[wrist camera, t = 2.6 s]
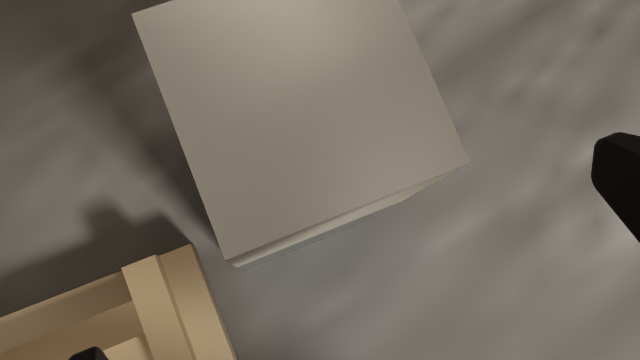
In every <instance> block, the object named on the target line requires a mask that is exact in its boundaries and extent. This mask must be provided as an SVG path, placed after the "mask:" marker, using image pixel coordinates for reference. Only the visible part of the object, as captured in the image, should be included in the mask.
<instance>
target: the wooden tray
mask: <svg viewBox="0 0 640 360" xmlns="http://www.w3.org/2000/svg"><path fill="white" fill-rule="evenodd" d="M121 269H122V271H119V272H116V273H114V274H111V275H109V276H106V277H104V278H101V279H98V280H96V281H93V282H91V283H88V284H86V285H83V286H81V287H78V288H75V289H73V290H70V291H68V292H65V293H63V294H60V295H57V296H55V297H52V298H50V299H47V300H45V301H42V302H40V303H37V304H34V305H32V306H29V307H27V308H24V309H22V310H19V311H16V312H14V313H11V314H9V315H6V316H4V317H1V318H0V360H68V359H69V358H70V357H71V356H72V355H74V354H76V353H78V352H81V351H83V350H85V349H88V348H90V347H93V346H97V347H99V348H100V349H101V350H102V351H103V352H104V354H105V355H106V357H107V358H108V359H109V360H237V357H236V355H235V352H234V349H233V347H232V344H231V341H230V339H229V336H228V333H227V331H226V328H225V325H224V323H223V320H222V317H221V315H220V312H219V309H218V307H217V304H216V301H215V299H214V296H213V293H212V291H211V288H210V285H209V283H208V280H207V277H206V275H205V272H204V269H203V267H202V264H201V261H200V259H199V256H198V253H197V251H196V248H195V246H194V245H192V244H188V245H186V246H183V247H180V248H178V249H175V250H173V251H170V252H168V253H165V254H163V255H160V256H158V255H153V256H150V257H147V258H145V259H142V260H140V261H137V262H135V263H132V264H129V265H127V266H124V267H122V268H121Z"/></svg>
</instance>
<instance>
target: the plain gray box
mask: <svg viewBox="0 0 640 360" xmlns="http://www.w3.org/2000/svg"><path fill="white" fill-rule="evenodd" d="M131 15H132V18H133V20H134V23H135V25H136V28H137V31H138V33H139V36H140V39H141V41H142V44H143V46H144V49H145V52H146V54H147V57H148V60H149V62H150V65H151V67H152V70H153V73H154V75H155V78H156V81H157V83H158V86H159V88H160V91H161V94H162V96H163V99H164V102H165V104H166V107H167V109H168V112H169V115H170V117H171V120H172V123H173V125H174V128H175V130H176V133H177V136H178V138H179V141H180V144H181V146H182V149H183V152H184V154H185V157H186V159H187V162H188V165H189V167H190V170H191V173H192V175H193V178H194V180H195V183H196V186H197V188H198V191H199V194H200V196H201V199H202V201H203V204H204V207H205V209H206V212H207V215H208V217H209V220H210V222H211V225H212V228H213V230H214V233H215V236H216V238H217V241H218V243H219V246H220V249H221V251H222V254H223V257H224V259H225V261H227V262H228V263H230V264H232V265H233V266H235V267H237V268H238V269H240V270H242V271H243V270H246V269H248V268H251V267H253V266H256V265H258V264H261V263H263V262H266V261H268V260H271V259H273V258H276V257H278V256H281V255H283V254H286V253H288V252H290V251H293V250H295V249H298V248H300V247H303V246H305V245H308V244H310V243H313V242H315V241H318V240H320V239H323V238H325V237H328V236H330V235H333V234H335V233H338V232H340V231H343V230H345V229H347V228H350V227H352V226H355V225H357V224H360V223H362V222H365V221H367V220H369V219H371V218H373V217H374V216H376V215H378V214H380V213H381V212H383V211H385V210H387V209H389V208H390V207H392V206H394V205H396V204H397V203H399V202H401V201H403V200H405V199H406V198H408V197H410V196H412V195H413V194H415V193H417V192H419V191H421V190H422V189H424V188H426V187H428V186H429V185H431V184H433V183H435V182H437V181H438V180H440V179H442V178H444V177H445V176H447V175H449V174H451V173H453V172H454V171H456V170H458V169H460V168H461V167H463V166H465V165H467V164H469V163H470V160H469V158H468V156H467V154H466V151H465V149H464V147H463V145H462V142H461V140H460V138H459V136H458V133H457V131H456V129H455V126H454V124H453V122H452V120H451V117H450V115H449V113H448V111H447V108H446V106H445V104H444V102H443V99H442V97H441V95H440V93H439V90H438V88H437V86H436V84H435V81H434V79H433V77H432V75H431V72H430V70H429V68H428V66H427V63H426V61H425V59H424V57H423V54H422V52H421V50H420V48H419V45H418V43H417V41H416V39H415V36H414V34H413V32H412V30H411V27H410V25H409V23H408V21H407V18H406V16H405V14H404V11H403V9H402V7H401V5H400V2H399V0H172V1H169V2H166V3H163V4H160V5H157V6H153V7H150V8H147V9H144V10H141V11H138V12H135V13H132V14H131Z"/></svg>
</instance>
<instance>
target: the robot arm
mask: <svg viewBox="0 0 640 360" xmlns="http://www.w3.org/2000/svg"><path fill="white" fill-rule="evenodd" d="M591 179H592V182H593V185H594V187H595V188H596V190H597V191H598V192H599V193H600V195H601V196H602V197H603V198H604V200H605V201H606V202H607V203H608V204H609V206H610V207H611V208H612V209H613V211H614V212H615V213H616V214H617V216H618V217H619V218H620V219H621V220H622V222H623V223H624V224H625V225H626V227H627V228H628V229H629V230H630V232H631V233H632V234H633V235H634V236H635V238H636V239H637V240H638V241H639V242H640V136H636V135H631V134H627V133H622V132H617V133H613V134H611V135H609V136H606V137H604V138H601V139H599V140H598V141H597V142H596V144H595V146H594V153H593V162H592V170H591ZM68 360H109V359H108V358H107V357H106V355H105V354H104V352H103V351H102V350H101V349H100V348H99V347H97V346H93V347H90V348H88V349H85V350H83V351H81V352H78V353H76V354H74V355H72V356H71V357H70V358H69V359H68Z"/></svg>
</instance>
